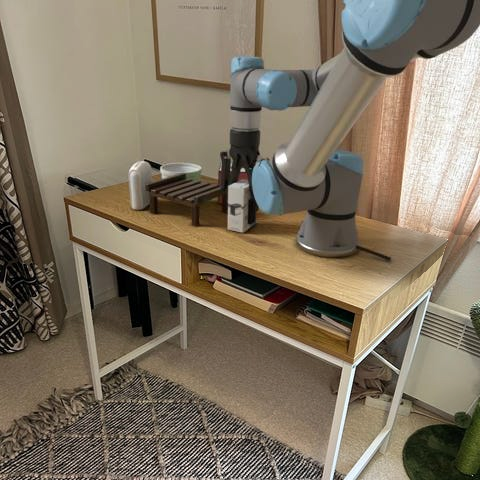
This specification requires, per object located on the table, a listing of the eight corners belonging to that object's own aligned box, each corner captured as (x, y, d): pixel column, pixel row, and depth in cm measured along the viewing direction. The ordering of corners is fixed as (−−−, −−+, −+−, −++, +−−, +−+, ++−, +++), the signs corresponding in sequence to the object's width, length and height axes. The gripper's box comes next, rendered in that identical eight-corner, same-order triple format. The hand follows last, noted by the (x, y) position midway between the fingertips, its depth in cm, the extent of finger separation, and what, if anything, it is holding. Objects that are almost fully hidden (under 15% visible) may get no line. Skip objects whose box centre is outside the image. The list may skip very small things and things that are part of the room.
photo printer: (141, 199, 148) (138, 157, 142) (155, 200, 148) (152, 158, 141) (129, 209, 139) (125, 166, 133) (143, 211, 139) (140, 167, 132)
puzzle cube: (250, 205, 146) (252, 172, 141) (217, 204, 146) (218, 170, 141) (250, 195, 155) (252, 163, 150) (219, 194, 155) (220, 162, 150)
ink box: (240, 220, 135) (242, 177, 129) (256, 223, 133) (258, 180, 127) (226, 229, 128) (227, 185, 122) (243, 233, 126) (244, 188, 120)
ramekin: (174, 181, 166) (173, 160, 162) (208, 186, 162) (208, 165, 158) (153, 191, 156) (152, 169, 152) (189, 197, 151) (189, 174, 148)
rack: (232, 212, 141) (233, 184, 136) (197, 227, 129) (197, 197, 125) (183, 199, 149) (183, 172, 145) (147, 212, 138) (145, 183, 134)
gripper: (285, 131, 116) (278, 224, 128) (223, 122, 125) (222, 209, 137) (269, 135, 111) (263, 232, 123) (205, 125, 119) (206, 216, 131)
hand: (242, 220), depth 130 cm, fingers closed on ink box, 5 cm apart
